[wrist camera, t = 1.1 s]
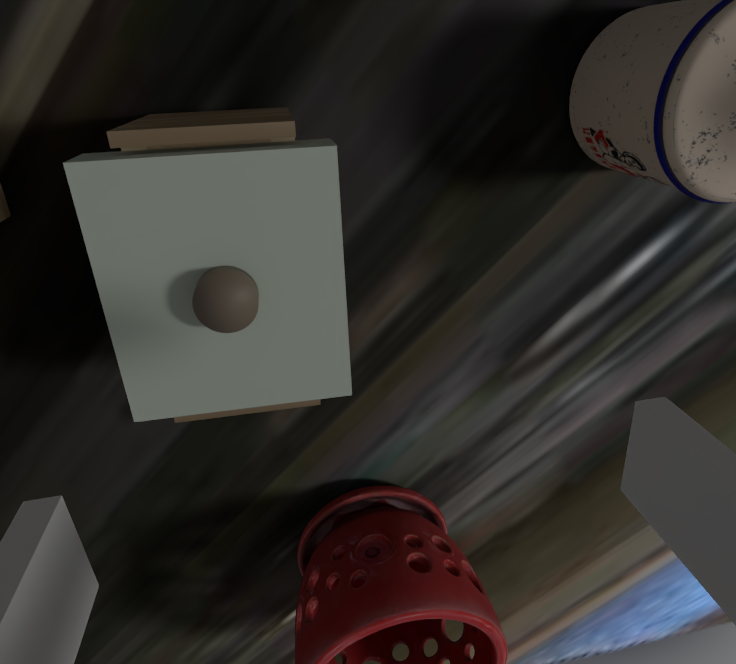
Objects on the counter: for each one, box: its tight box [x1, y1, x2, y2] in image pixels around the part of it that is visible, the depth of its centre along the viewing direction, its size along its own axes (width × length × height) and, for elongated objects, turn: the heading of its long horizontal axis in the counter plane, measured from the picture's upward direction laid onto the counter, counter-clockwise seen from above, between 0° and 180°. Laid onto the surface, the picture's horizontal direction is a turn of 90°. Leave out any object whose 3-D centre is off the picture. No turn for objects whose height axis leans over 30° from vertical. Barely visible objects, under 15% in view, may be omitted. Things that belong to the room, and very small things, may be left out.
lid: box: [63, 139, 352, 422], centre depth 24 cm, size 11×10×3 cm
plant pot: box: [295, 485, 507, 664], centre depth 38 cm, size 13×13×12 cm
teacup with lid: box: [569, 0, 736, 203], centre depth 27 cm, size 12×9×12 cm
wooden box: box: [107, 107, 320, 423], centre depth 28 cm, size 13×7×8 cm, turn 2°
